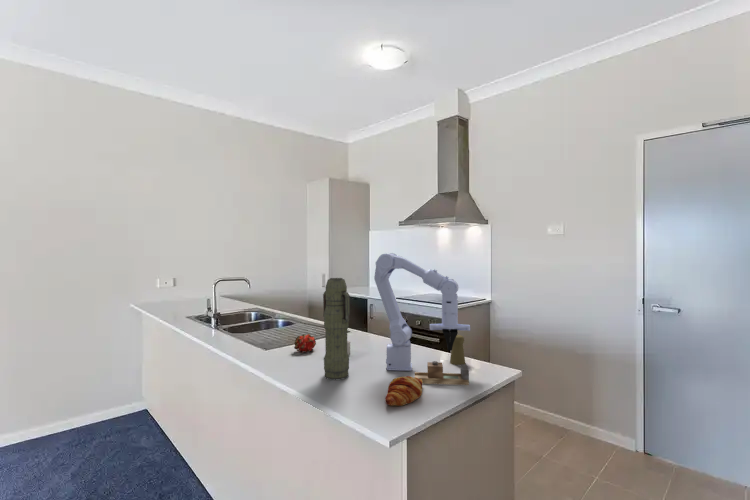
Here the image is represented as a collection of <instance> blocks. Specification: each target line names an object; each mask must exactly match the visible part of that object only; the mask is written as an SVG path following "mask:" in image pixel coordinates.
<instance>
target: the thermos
mask: <svg viewBox="0 0 750 500" xmlns="http://www.w3.org/2000/svg"><path fill="white" fill-rule="evenodd" d="M347 286H348V285H347V283H346V280H345V278H343V277H330V278H328V279H327V280H326V284H325V291H324V292H323V294H322V297H323V298H322V301H323V303H322V304H323V316H322V317H323V328H324V329H325V333H324V334H325V335H324V336H325V338H324V339H325V345H324V346H325V354H324V357H323V370H324V378H325V377H326V378H325V379H327V378H328V379H327V380H330V379H335V380H334V381H337V380H336V379H340V380H343V379H344V380H345V379H347V378H349V373H350V372H349V369H350V355H348V353H347V341H348V328H349V325H350V324H349V323H350V319H351V318H350V317H351V307H350V306H351V296H350V294H349V292H348V291H347V289H348V288H347ZM346 377H347V378H346Z"/></svg>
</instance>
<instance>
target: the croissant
mask: <svg viewBox="0 0 750 500" xmlns="http://www.w3.org/2000/svg"><path fill="white" fill-rule="evenodd" d="M423 385H424V384H423V381H422V379H418V378H416V377H415V376H414V377H413V376H410V375H406V376H398V377H394V378H393V379H392V380H391V382H390V383H389V384H388V388H387V392H386V395H385V398H384V399H385V403H386V405H388V406H398V407H399V406H400V407H401V406H404V405H407V404H411V403H413V402H414V401H417V399H419V398H421V396H422V395H423Z"/></svg>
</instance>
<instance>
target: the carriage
mask: <svg viewBox="0 0 750 500" xmlns="http://www.w3.org/2000/svg"><path fill="white" fill-rule="evenodd" d="M427 372H428V378H443V373H444V366H443V362H438V361H436V360H434V361H431V362H430V361H427Z"/></svg>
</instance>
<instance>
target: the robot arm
mask: <svg viewBox="0 0 750 500" xmlns="http://www.w3.org/2000/svg"><path fill="white" fill-rule="evenodd" d="M396 269H398V270H401V269H403V270H405V271H407V272H409V273H411V274H414V275H415V276H418V277H419V278H420V279H422V282H423V283H424V284H425V285H428V286H429V287H431V288H433V289H434V290H437V291H440V293H441V297H442V299H441V323H429V330H430V331H442V333H443V336H444V338H445V341H446V346H447V351H450V352H451V351H452V347H453V343H454V340H455V338H456V336H457V335H459V333H458V331H467V332H471V325H470V324H464V323H463V324H461V323H459V317H458V315H459V305H458V304H459V301H458V291H459V284H458V283H457V281H456V280H454V279H453V278H450V277H449V276H447V275H446V276H444V275H442V274H441V273H439V272H438V270H437V269H435V268H434V269H430V268H429V269H427V270H426V269H424V268H423V267H421V266H419V265H417V264H416V263H414V262H412V261H411V260H409V259H408V258H405V257H403V256H400V255H397V254H396V253H393V252H390V253H382V254H380V255H379V257H378V258H377V260H376V261H375V270H374V276H373V277H374V283H375V285H376V288H377V291H378V293H379V296H380V298H381V301H382V305H383V308H384V309H385V313H386V315H387V318H388V321H389V328H388V329H389V332H390V337H389V338H390V341H391V343H387V344H386V359H385V363H386V370H387V371H405V372H409V371H410V372H412V371H413V363H412V343H411V340H410V339H411V338H412V335H413V330H412V328H411V327H410V326H409V325H408V323H407V322H406V321H407V320H405V318H404V317H403V315H402V312H401V311H400V308H399V304H398V301H397V298H396V296H395V294H394V291H393V288H392V286H391V282H390V280H389V279H390V277H391V275H392V273H393V272H394V271H395V270H396Z"/></svg>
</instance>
